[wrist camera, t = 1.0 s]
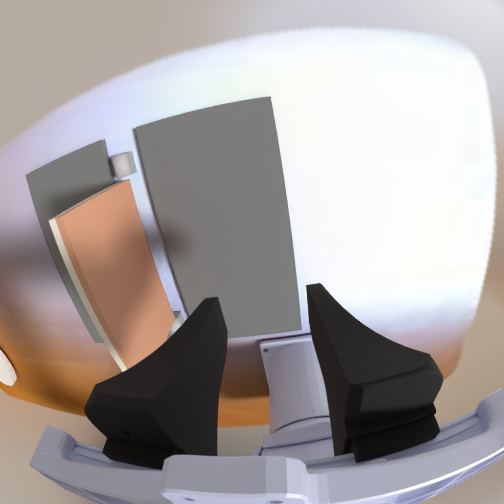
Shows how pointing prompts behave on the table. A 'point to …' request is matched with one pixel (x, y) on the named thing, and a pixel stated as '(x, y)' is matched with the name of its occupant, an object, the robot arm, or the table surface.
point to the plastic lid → (6, 371)
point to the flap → (115, 272)
